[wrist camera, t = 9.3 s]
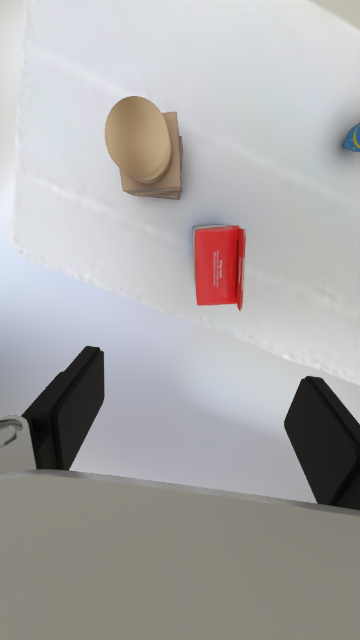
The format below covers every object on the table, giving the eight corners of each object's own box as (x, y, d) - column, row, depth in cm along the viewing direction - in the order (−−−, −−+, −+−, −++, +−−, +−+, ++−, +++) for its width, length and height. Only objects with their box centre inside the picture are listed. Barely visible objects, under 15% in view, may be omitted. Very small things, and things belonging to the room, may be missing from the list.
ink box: (191, 226, 34) (193, 229, 21) (225, 223, 34) (249, 225, 20) (194, 282, 37) (197, 316, 24) (224, 280, 37) (244, 314, 24)
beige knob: (174, 124, 21) (169, 98, 17) (171, 185, 23) (166, 177, 19) (121, 120, 21) (102, 93, 17) (122, 182, 23) (106, 172, 19)
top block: (178, 131, 26) (176, 111, 21) (181, 191, 28) (180, 186, 23) (126, 135, 26) (112, 117, 21) (133, 195, 28) (122, 190, 24)
